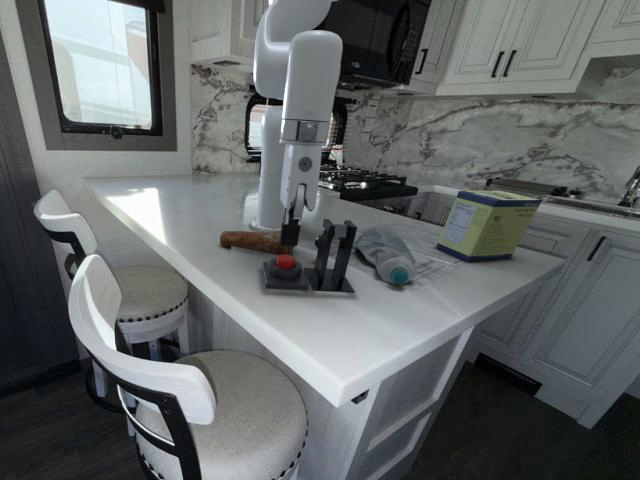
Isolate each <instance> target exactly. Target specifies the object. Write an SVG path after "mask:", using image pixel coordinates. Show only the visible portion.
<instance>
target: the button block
mask: <svg viewBox="0 0 640 480" xmlns="http://www.w3.org/2000/svg"><path fill="white" fill-rule="evenodd" d="M276 261H277V257H276V258H272V259H271V260H269V261H262V264H261V265H262V266H261V268H262V274H263V282H264V289H267V290H268V289H269V290H286V291H287V290H288V291H289V290H290V291H309V286H310V284H309V282H308V281H307V280H308V279H307V277H306V276H305V275H306V274H305V272H304V270H303V265H302V264H301V262H299V261H297V260H296V259H295V265H294V268H292V269H283V268H279V267H277V266H276Z"/></svg>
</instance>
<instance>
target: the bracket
mask: <svg viewBox="0 0 640 480" xmlns="http://www.w3.org/2000/svg"><path fill="white" fill-rule="evenodd" d="M334 224H335V223H333V222H332V221H331V220H330V218H324V219H323V221H322V227H321V229H320V235H321V236H320V242H319V247H318V248H317V253H316V256H315V257H316V258H315V263H314V267H303V272H304V274H305V275H306V276H305V277H306V279H307V280H308V284H309V286H310V288H311V289H312V291H313V292H328V293H329V292H330V293H351V294H354V293H356V291H355V289H354V288H353V286H352V285H351V283H350V282H349V281H348V279H347V277H346V273H347V269H348V265H349V261H350V257H351V254H352V250H353V246H354V242H355V238H356V234H357V230H358V226H357V225H356V224H355V223H354V222H352V221H351V220H350V219H344V221H343V224H346V225H347V232H346V238H344V239H342V240H339V242H338V243H339V244H338V247H337V252H336V256H335V260H334V264H333V268H327V266H328V261H329V256H330V252H331V247H332V244H333V240H332V238H333V234H334V229H335V225H334Z"/></svg>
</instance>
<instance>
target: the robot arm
mask: <svg viewBox="0 0 640 480" xmlns="http://www.w3.org/2000/svg"><path fill="white" fill-rule="evenodd" d="M267 1H268V7H267V8H266V10H265V11H264V13H263V15H262V17H261V18H260V21H259V24H258V26H257V28H256V29H257V30H256V35H255V42H254V55H253V56H254V57H253V74H252V75H253V84H254V89H255V90H256V92H257V94H258V95H260V96H261V97H262V98H263V97H264V98H266V99H268V98H269V99H276V100H280V101H282V104H283V105H274V106H270V107H268V108H267V109H266V110H264V112H263V113H262V117H261V121H260V134H261V162H260V175H259V189H258V197H257V198H258V200H257V213H256V218H254V219H253V220H252V221H251V224H250V225H251V228H253V229H255V230H267V231H280V233H281V235H280V243H281V245H283V246H294V247H297V246H298V245H299V239H300V232H301V224H302V218H303V213H304V209H305V208H306V209H307V210H308V211H309V212H313V211H314V210H315V209H316V204H317V203H316V202H317V195H318V189H319V181H320V173H321V164H322V147H326V146H327V141H328V137H329V131H330V125H331V120H332V113H333V108H334V101H335V96H336V92H337V91H336V90H337V86H338V83H339V80H340V75H341V62H342V57H343V55H342V54H343V49H344V47H343V46H344V45H343V40H342V38H341V37H340V36H339V34H337V33H335V32H333V31H329V30H323V29H322V30H321V29H319V30H317V29H316V28H317V27H318V26H319V25H321V24H322V22H323V21H325V19H326V17H327V16H328V13H329V11H330V9H331V6H332V3H333V2H338V1H339V0H267ZM315 29H316V30H315Z"/></svg>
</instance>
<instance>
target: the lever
mask: <svg viewBox="0 0 640 480" xmlns="http://www.w3.org/2000/svg"><path fill="white" fill-rule="evenodd" d="M333 224H334V225H335V229H334V234H333V238H332V241H340V240H342V239H344V238H346V232H347V225H346V224H344V223H343V224H342V223H333ZM320 236H321V234H319V235H318V236H316V237H315V239H314V246H315V248H317V249H318V247H319V242H320Z"/></svg>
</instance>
